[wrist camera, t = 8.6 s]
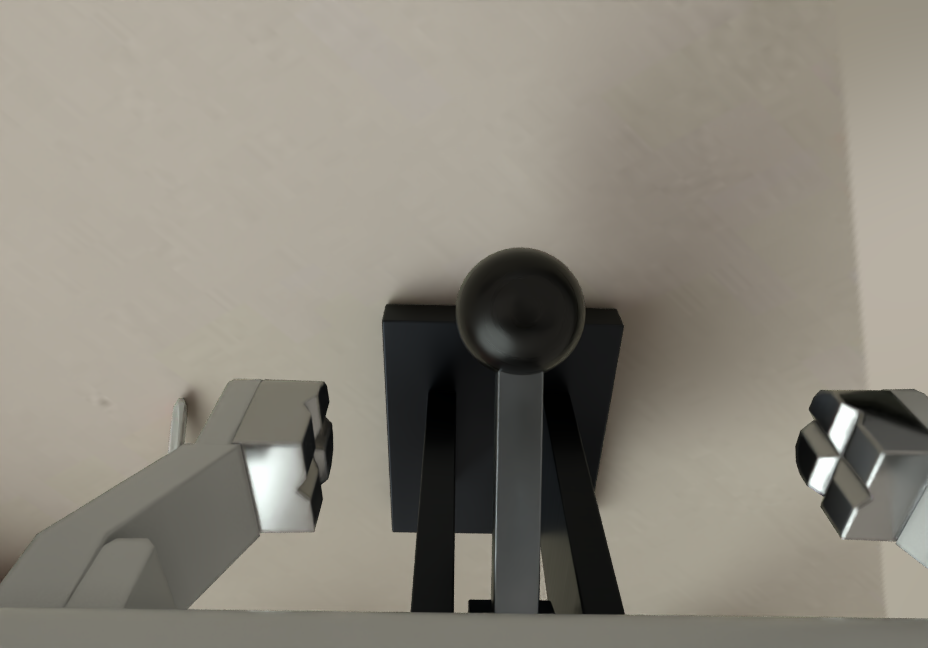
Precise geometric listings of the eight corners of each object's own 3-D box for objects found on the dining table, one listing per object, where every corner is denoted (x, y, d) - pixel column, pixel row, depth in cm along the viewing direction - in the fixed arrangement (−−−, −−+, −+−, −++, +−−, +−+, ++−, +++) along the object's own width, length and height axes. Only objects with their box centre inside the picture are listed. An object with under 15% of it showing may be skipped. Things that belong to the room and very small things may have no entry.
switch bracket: (385, 303, 21) (316, 614, 11) (617, 307, 22) (757, 619, 11) (394, 510, 26) (352, 855, 16) (582, 513, 27) (657, 857, 16)
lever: (456, 254, 17) (456, 237, 14) (573, 256, 17) (600, 240, 14) (447, 695, 17) (446, 781, 14) (564, 696, 17) (591, 782, 14)
